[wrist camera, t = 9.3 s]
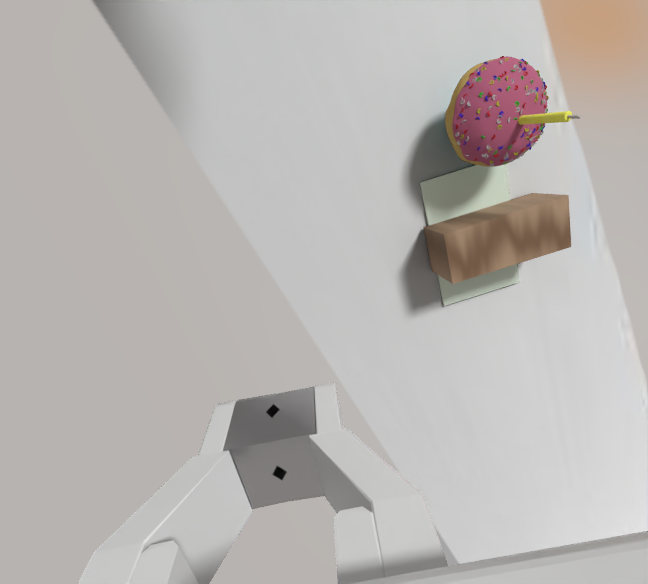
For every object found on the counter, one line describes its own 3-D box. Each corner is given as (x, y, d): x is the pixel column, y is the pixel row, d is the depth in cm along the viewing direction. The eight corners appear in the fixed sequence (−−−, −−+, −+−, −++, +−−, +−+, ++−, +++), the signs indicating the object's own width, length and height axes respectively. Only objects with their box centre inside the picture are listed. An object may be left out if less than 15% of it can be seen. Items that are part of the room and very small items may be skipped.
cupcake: (528, 114, 34) (647, 82, 23) (470, 186, 36) (555, 190, 25) (468, 52, 32) (567, -18, 21) (410, 132, 34) (472, 108, 22)
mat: (419, 182, 35) (420, 182, 35) (503, 156, 35) (505, 156, 35) (443, 304, 40) (444, 305, 40) (517, 281, 40) (519, 282, 40)
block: (443, 234, 32) (568, 195, 32) (423, 227, 36) (531, 193, 36) (452, 284, 33) (571, 246, 33) (432, 271, 38) (535, 238, 38)
